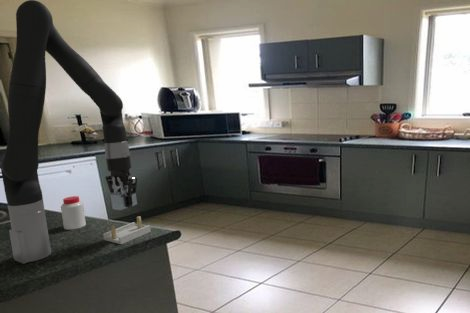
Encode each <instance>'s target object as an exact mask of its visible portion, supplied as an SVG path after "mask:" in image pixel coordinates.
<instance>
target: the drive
mask: <svg viewBox="0 0 470 313" xmlns="http://www.w3.org/2000/svg"><path fill="white" fill-rule="evenodd" d="M126 190H127V192H128V189H126ZM110 200H111V201H110V202H111V206H112V210H115V211H123V210H124V209H125V210H126V209H128V208H129V207H126V204H125V195H124V192H123V190H122V191H120V192H117V193H110ZM132 202H133V204H132V206H131V207H134V206H136V205H138V201H137V192H136V193H135V194H132Z"/></svg>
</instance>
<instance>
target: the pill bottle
mask: <svg viewBox="0 0 470 313" xmlns="http://www.w3.org/2000/svg"><path fill="white" fill-rule="evenodd" d="M62 200H63V204H61V206H60V211H61V218H62V224H63V229H64V230H66V231H67V230H68V231H69V230H71V231H72V230H78V229H80V228H83V227H84V226H86V225H87V222H86V215H85V207H84V203H83V201H81V200H80V197H79V195H78V196H76V195H75V196H69V197H64V198H63V199H62Z"/></svg>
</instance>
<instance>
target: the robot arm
mask: <svg viewBox="0 0 470 313" xmlns="http://www.w3.org/2000/svg"><path fill="white" fill-rule="evenodd" d="M15 19H16V20H15V21H16V24H15V25H16V46H15V53H14V58H13V61H12V66H11V71H10V77H9V78H10V79H9V86H8V94H7V96H8V97H7V114H8V126H9V132H8V138H7V143H6V148H5V152H4V153H3V155H1V158H0V171H1V177H2V183H3V188H4V194H5V198H6V204H7V209H8V216H9V220H10V221H9V222H10V228H11V229H9V230H8V233H9V237H10V238H9V239H10V243H11V245H10V246H11V249H12V255H13V260H14V261H15V262H18V263H20V264H23V265H24V264H26V263H31V262H35V261H40V260H43V259H44V258H47V257H49V256H50V255H51V254H52V248H51V242H50V237H49V231H48V222H47V217H46V211H45V204H44V198H43V191H42V188H41V185H40V184H41V183H40V179H39V174H38V170H39V164H40V163H39V136H40V133H39V132H40V128H41V124H42V120H43V114H44V113H43V112H44V107H45V101H46V100H45V98H46V90H47V66H46V65H47V64H46V53H47V54H49V55H50V57H51V58H53V59H54V60H55V61H56V63H58V65H59V66H60V67H61V68H62V69H63V70H64V72H65V73H66V75H68V76H69V78H70V79H71V80H72V81H73V82H74V83H75V85H77V87H79V89H81V91H82V92H83V93H85V94H86V95H87V96H88V97H89V98H90V99H91V101H92V102H93V103H94V104H95V105H96V106H97V107H98V109H99V113H100V118H101V123H102V134H103V139H104V140H103V142H104V154H105V161H106V169H107V171H108V172H110V175H106V176H105V181H106V184H107V186H108V188H109V191H110V194H114V193H117V192H120V191H123V192H124V195H125V204H126V207H128V208H131V207H133V206H132V204H133V202H132V194H135V193H136V194H137V186H138V185H137V184H138V177H137V176H132V174H131V172H130V170H131V168H132V162H131V154H130V148H129V142H128V139H127V131H126V127H125V125H124V119H123V108H124V104H123V101H122V98H121V97H120V96H119V95H118V94H117V93H116V92H115V91H114V90H113V89H112V87H110V86H109V85H108V84H107V83H106V82H105V81H104V80H103V78H102V77H101V76H100V75H99V74H98V72H97V71H96V70H95V69H94V68H93V66H92V65H90V63H89V62H88V61H87V60H86V59H85V58H84V57H82V55H80V54H79V53H78V52H77V51H75V50H74V49H73V48H72V47H71V46H70V45H69V44H68V43H67V41H65V39H64V37H63V36H62V35H61V34H60V32H59V31H58V29H57V28H56V27H55V24H54V22H53V16H52V13H51V10H49V9H48V7H47V6H46V5H45V4H44V3H42V2H41V1H38V0H26V1H23V2H22V3H21V4H20V5H19V6H18V7H17V9H16V13H15ZM127 189H128V192H127Z"/></svg>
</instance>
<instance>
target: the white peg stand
mask: <svg viewBox="0 0 470 313" xmlns="http://www.w3.org/2000/svg"><path fill="white" fill-rule="evenodd" d="M136 223H137V225H136ZM142 225H143V224H142V217H141V216H138V215H137V216H136V222H134V221H133V222H130V223H128V224H125V225H122V226H120V227H116V225H111V226H110V230H109V231H107V232H103V241H106V242H110V243H113V244H118V245H123V244H126V243H128V242H130V241H133V240H134V239H137V238H140V237H142V236H144V235H147V234H148V233H151V232H152V228H151V225H150V224H148V225H145V226H142Z"/></svg>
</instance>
